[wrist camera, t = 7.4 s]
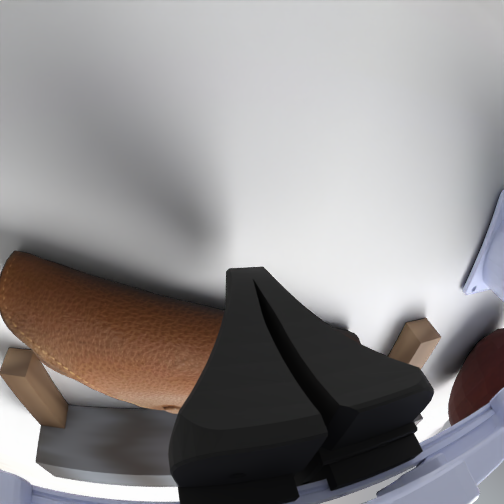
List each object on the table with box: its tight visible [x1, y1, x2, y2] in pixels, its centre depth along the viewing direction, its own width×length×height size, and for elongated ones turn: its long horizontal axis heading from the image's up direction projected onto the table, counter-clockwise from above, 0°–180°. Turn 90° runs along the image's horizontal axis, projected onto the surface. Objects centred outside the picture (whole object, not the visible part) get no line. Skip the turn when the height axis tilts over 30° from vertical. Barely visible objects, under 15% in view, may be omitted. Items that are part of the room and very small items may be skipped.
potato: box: [448, 328, 504, 426], centre depth 21 cm, size 11×13×10 cm
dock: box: [0, 318, 441, 487], centre depth 16 cm, size 27×9×5 cm, turn 85°
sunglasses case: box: [0, 251, 361, 414], centre depth 14 cm, size 18×7×7 cm
